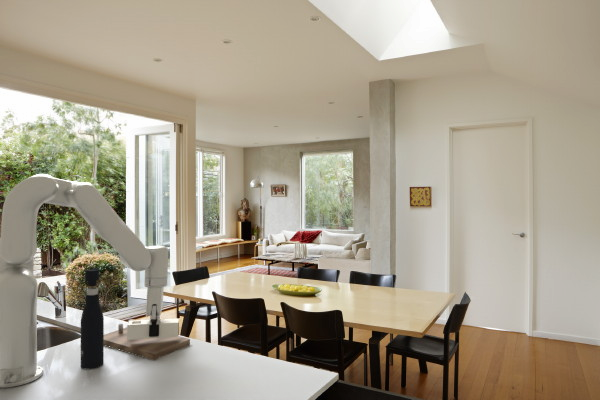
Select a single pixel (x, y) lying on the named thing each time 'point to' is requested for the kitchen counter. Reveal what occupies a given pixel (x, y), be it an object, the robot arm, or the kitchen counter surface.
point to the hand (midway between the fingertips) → (154, 333)
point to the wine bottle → (92, 325)
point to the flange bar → (141, 329)
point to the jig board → (144, 344)
